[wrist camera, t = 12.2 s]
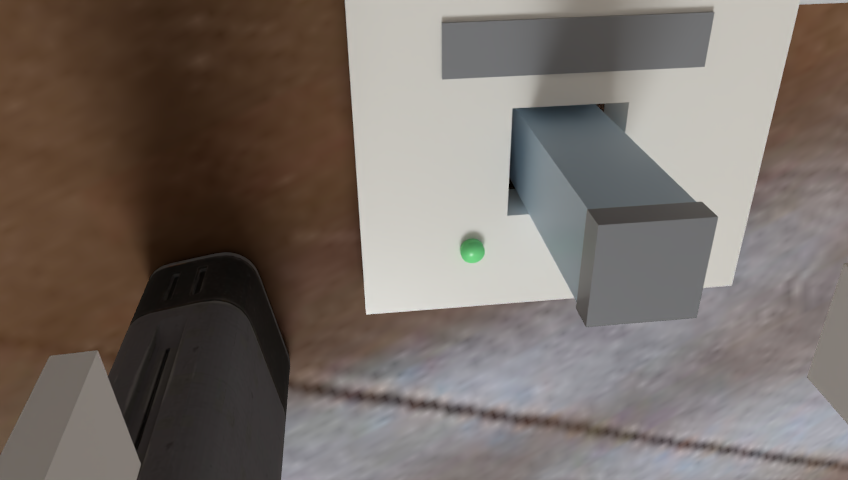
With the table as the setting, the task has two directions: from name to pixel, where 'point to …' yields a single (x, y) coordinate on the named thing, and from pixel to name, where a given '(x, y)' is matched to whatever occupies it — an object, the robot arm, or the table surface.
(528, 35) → the port plate
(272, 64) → the table surface
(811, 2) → the cradle
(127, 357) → the electronic device
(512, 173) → the plug
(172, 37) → the table surface
